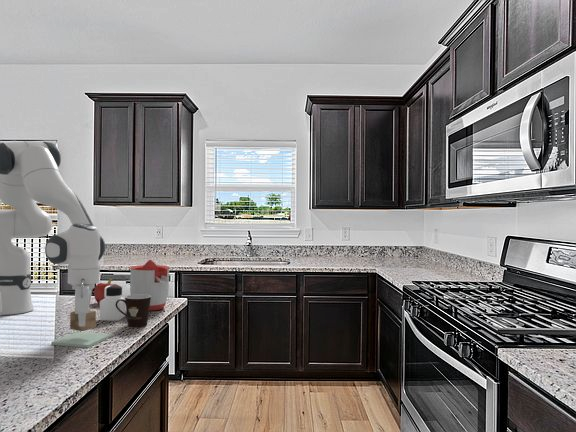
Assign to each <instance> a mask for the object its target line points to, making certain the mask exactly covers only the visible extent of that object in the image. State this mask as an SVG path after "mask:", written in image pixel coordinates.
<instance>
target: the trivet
mask: <svg viewBox="0 0 576 432" xmlns="http://www.w3.org/2000/svg"><path fill="white" fill-rule="evenodd" d="M111 338H112V333H100V332H99V333H98V332H87V331H75V332H73V333H70V334H68V335H65V336H63V337H60V338H58V339H55V340H52V341H51V346H61V347H75V348H87V349H89V348H91V347H93V346H96V345H97V344H99V343H102V342H104V341H107V339H111Z"/></svg>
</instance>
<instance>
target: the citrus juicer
mask: <svg viewBox="0 0 576 432" xmlns="http://www.w3.org/2000/svg"><path fill="white" fill-rule="evenodd" d="M170 268H171V267H170V266H168V265H163V264H161V265H159V264H156V263H155V261H153V259H149V260H147V261H146V262H145V263H144V264H140V265H134V266H130V267H129V269H130V277H129V278H130V281H129V282H130V285H129V292H130V294H129V295H135V294H145V295H150V296H151V300H150V307H149V312H151V311H157V310H162V309H164V308H165V306H166V303H167V300H168V295H169V288H170V286H169V284H170Z"/></svg>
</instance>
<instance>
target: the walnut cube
mask: <svg viewBox="0 0 576 432" xmlns="http://www.w3.org/2000/svg"><path fill="white" fill-rule="evenodd" d="M96 314H97V311H96V310H90V309H89V311H88V313H86V321H85V326H82V327H80V326H79V319H78V314H75V311H71V312H70V315H69V319H70V320H69V322H70V323H69V329H70V330H74V331H77V332H86V331H88V330H91V329H94V328H96V327H97V326H96V319H97V317H96V316H97V315H96Z"/></svg>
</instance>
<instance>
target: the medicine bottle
mask: <svg viewBox="0 0 576 432" xmlns="http://www.w3.org/2000/svg"><path fill="white" fill-rule="evenodd" d="M118 285H119V284H117V285H111V286H107V287H105V291H104V297H105V299H103V300H101V301H100V303H99V321H109V322H110V321H112V322H114V321H117V322H118V321H119V322H120V320H122V319H123V318H125V317H126V316H125V315H124V314H122V313H121V312H120V311H119V310H118V309H117V308H116V301H118V300H120V299H123V300H125V297H123V287H122V286H121V285H119V286H118ZM117 306H118V308H119V309H120V310H121V311H123V312H124V313H125V314H126V304H125V303H124V302H123V301H119V302H118V304H117Z"/></svg>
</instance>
